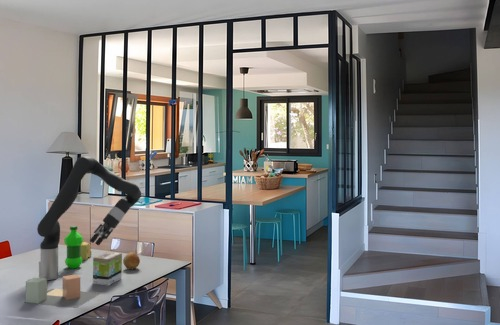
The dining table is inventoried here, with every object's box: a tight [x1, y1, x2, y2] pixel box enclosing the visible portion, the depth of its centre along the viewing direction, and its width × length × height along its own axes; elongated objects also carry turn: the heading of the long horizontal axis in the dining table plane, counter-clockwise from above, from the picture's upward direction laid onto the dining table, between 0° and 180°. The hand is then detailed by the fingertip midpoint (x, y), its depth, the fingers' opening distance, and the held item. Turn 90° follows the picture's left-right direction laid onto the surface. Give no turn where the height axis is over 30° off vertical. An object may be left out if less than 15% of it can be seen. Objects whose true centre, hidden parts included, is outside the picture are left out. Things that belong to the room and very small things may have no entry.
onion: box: [122, 252, 141, 270], centre depth 297 cm, size 10×10×10 cm
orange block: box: [62, 274, 81, 300], centre depth 242 cm, size 7×7×10 cm
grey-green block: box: [25, 277, 48, 304], centre depth 237 cm, size 7×7×10 cm
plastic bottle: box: [64, 225, 84, 270], centre depth 299 cm, size 10×10×25 cm
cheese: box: [81, 241, 92, 261], centre depth 321 cm, size 10×11×10 cm
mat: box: [24, 288, 102, 309], centre depth 241 cm, size 28×22×1 cm
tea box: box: [92, 251, 123, 286], centre depth 271 cm, size 15×10×15 cm
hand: (93, 243), depth 249 cm, fingers open, 8 cm apart
